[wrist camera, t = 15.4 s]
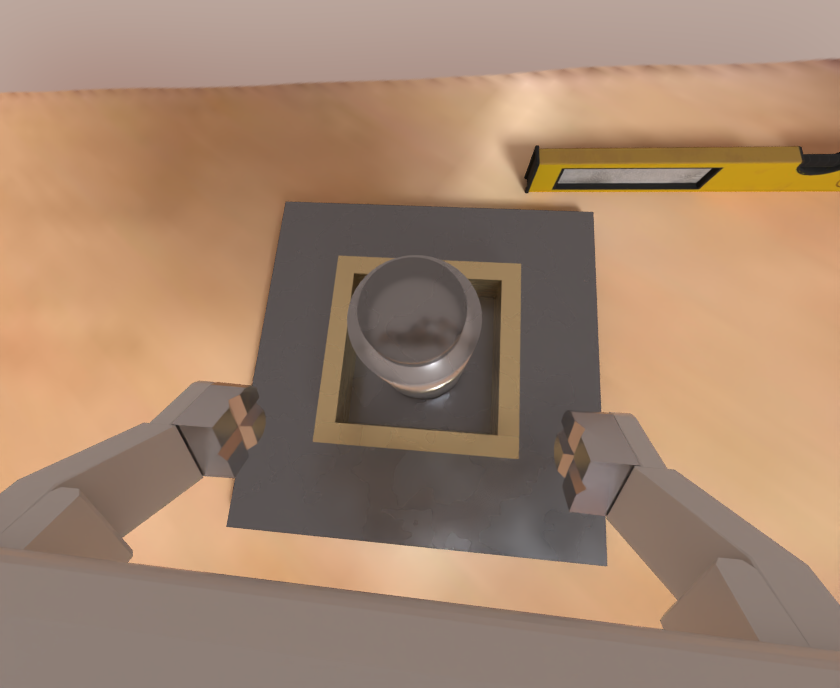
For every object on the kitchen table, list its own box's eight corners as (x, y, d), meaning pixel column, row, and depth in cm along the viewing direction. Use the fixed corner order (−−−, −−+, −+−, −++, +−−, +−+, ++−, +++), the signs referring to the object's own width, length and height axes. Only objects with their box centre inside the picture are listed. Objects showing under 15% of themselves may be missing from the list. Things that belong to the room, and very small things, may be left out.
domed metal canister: (466, 321, 20) (488, 244, 11) (462, 402, 19) (483, 386, 10) (386, 316, 20) (348, 238, 12) (378, 396, 19) (329, 375, 11)
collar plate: (586, 221, 22) (613, 185, 19) (598, 558, 18) (635, 591, 14) (292, 210, 24) (267, 175, 20) (237, 521, 19) (193, 543, 16)
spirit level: (1056, 177, 21) (1154, 139, 19) (1064, 195, 21) (1164, 160, 18) (523, 179, 24) (535, 145, 21) (524, 196, 23) (536, 164, 20)
